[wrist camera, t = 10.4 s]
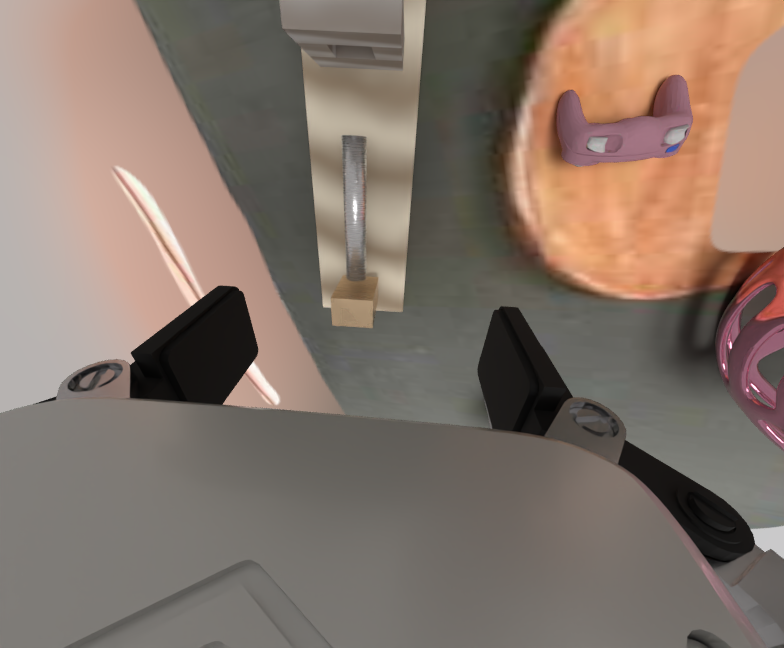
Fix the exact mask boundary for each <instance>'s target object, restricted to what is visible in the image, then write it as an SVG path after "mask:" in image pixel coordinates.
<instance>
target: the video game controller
mask: <svg viewBox="0 0 784 648" xmlns="http://www.w3.org/2000/svg"><path fill="white" fill-rule="evenodd" d="M692 123H693V116H692V111H691V107H690V101H689V94H688V88H687V83H686V81H685V80H684V78H683V77H682V76H680V75H672V76H670V77H668V78H667V79H666V80H665V81H664V83H663V84H662V85H661V87H660V89H659V91H658V92H657V95H656V98H655V102H654V109H653V117H651V116H639V117H634V118H627V119H623V120H620V121H619V122H618V123H607V124H599V123H587V121H586V119H585V117H584V115H583V112H582V108H581V104H580V100H579V97H578V95H577V94H576V93H575V91H573V90H568V91H566V92H565V93H564V94H563V96H562V97H561V99H560V101H559V104H558V109H557V132H558V137H559V140H560V143H561V147H562V154H561V156H562V158H563V160H565V161H566V162H568V163H570V164H573V165H575V166H577V167H581V166H590V165H594V164H597V163H599V162H627V161H636V160H643V159H648V158H653V157H655V158H665V157H670V156H673V155H675V154H676V153H677V152H678V151H679V149H680V148H681V146H682V144H683V143H684V141H685V140H686V138H687V136H688V134H689V132H690V129H691V126H692Z"/></svg>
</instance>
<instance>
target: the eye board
mask: <svg viewBox="0 0 784 648" xmlns="http://www.w3.org/2000/svg"><path fill="white" fill-rule="evenodd" d="M279 2H280V11H281V21H282V29H283V30H284V31H285V32H286V33H287V34H288V35H289V36H290V37H291V38H292V39H293V40H294V41H295V42H296V43H297V44H298V45H299V46H300V47H301V53H302V64H303V76H304V88H305V100H306V111H307V123H308V135H309V146H310V158H311V170H312V182H313V193H314V205H315V217H316V228H317V240H318V252H319V264H320V275H321V287H322V299H323V307H331V296H332V295H333V293H334V291H335V289H336V287H337V285H338V283H339V282H340V280H341V278H342V276H343V275H346V250H345V222H344V195H343V167H342V139H341V135H354V136H365V137H367V216H366V276H367V277H379V278H378V303H377V308H376V310H377V311H393V312H403V299H404V285H405V272H406V259H407V246H408V233H409V219H410V206H411V193H412V180H413V167H414V153H415V140H416V127H417V114H418V101H419V87H420V74H421V61H422V48H423V34H424V21H425V8H426V0H279Z"/></svg>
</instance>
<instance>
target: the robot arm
mask: <svg viewBox="0 0 784 648" xmlns="http://www.w3.org/2000/svg"><path fill="white" fill-rule="evenodd" d="M131 354H132V356H133V358H134V360H135V362H134V363H132V364H131V365H130V364H129V363H128V362H126V361H125V360H118V359H115V360H105V361H101V362H97V363H94V364H91V365H88V366H86V367H84V368H82V369H79V370H77V371H76V372H74V373H73V374H71V375H70V376H68V377H67V378H66V379H65V380H64V381H63V382H62V384H61V385H60V387H59V390H58V394H57V396H56V397H54V398H51V399H48V400H45V401H42V402H39V403H36V404H33V405H28V406H24V407H21V408H16V409H13V410H10V411H6V412H3V413H0V648H784V559H783V558H782V557H780V556H779V555H778V554H776V553H775V552H774V551H773V550H771V549H770V550H768V551H766V552H764V551H763V550H761V549H760V548H759V547H758V546H757V545H755V541H754V537H753V534H752V532H751V530H750V528H749V526H748V525H747V523H746V522H745V520H744V519H743V518H742V517H741V516H740V515H739V513H738V512H737V511H736V510H735V509H734V508H732V507H731V506H730V505H729V504H728V503H727V502H726V501H724V500H723V499H722V498H720V497H719V496H717V495H716V494H714V493H713V492H711V491H710V490H708V489H706V488H705V487H703V486H701V485H700V484H698V483H696V482H695V481H693V480H691V479H690V478H688V477H686V476H685V475H683V474H681V473H679V472H678V471H676V470H674V469H673V468H671V467H669V466H668V465H666V464H664V463H663V462H661V461H659V460H658V459H656V458H654V457H653V456H651V455H649V454H648V453H646V452H644V451H643V450H641V449H639V448H638V447H636V446H634V445H633V444H631V443H629V442H628V441H626V440H625V438H626V428H625V426H624V424H623V422H622V421H621V420H620V418H619V417H618V416H617V415H616V414H615V413H614V412H612V411H611V410H610V409H609V408H607V407H605V406H604V405H602V404H600V403H598V402H595V401H593V400H590V399H586V398H578V397H574V398H573V396H572V395H571V393H570V391H569V390H568V388H567V386H566V385H565V383H564V382H563V380H562V378H561V377H560V375H559V373H558V372H557V370H556V368H555V367H554V365H553V363H552V362H551V360H550V358H549V357H548V355H547V354H546V352H545V350H544V349H543V347H542V346H541V345H540V343H539V342H538V340H537V338H536V337H535V335H534V333H533V332H532V330H531V328H530V327H529V325H528V323H527V322H526V320H525V318H524V317H523V315H522V313H521V312H520V310H519V309H518V308H516V307H503V306H501V307H500V308H499V310H494V312H493V315H492V319H491V322H490V326H489V329H488V333H487V336H486V340H485V343H484V347H483V350H482V354H481V357H480V361H479V364H478V377H479V380H480V384H481V388H482V392H483V395H484V399H485V403H486V407H487V410H488V414H489V418H490V422H491V425H492V429H489V428H481V427H469V426H459V425H450V424H439V423H428V422H417V421H407V420H396V419H385V418H374V417H363V416H351V415H340V414H328V413H317V412H304V411H293V410H281V409H270V408H257V407H244V406H232V405H222V404H223V403H224V401H225V400H226V398H227V397H228V396H229V394H230V393H231V391H232V390H233V389H234V387H235V386H236V385H237V383H238V382H239V380H240V379H241V378H242V376H243V375H244V373H245V372H246V371H247V369H248V368H249V366H250V365H251V364H252V362H253V361H254V359H255V358H256V356H257V354H258V346H257V342H256V338H255V334H254V331H253V327H252V323H251V320H250V316H249V312H248V308H247V305H246V301H245V297H244V294H243V292H242V291H239V289H238V288H237V287H233V286H218V287H216V288H215V289H213V290H212V291H211V292H209V293H208V294H207V295H206V296H204V297H203V298H202V299H200V300H199V301H198V302H196V303H195V304H194V305H192V306H191V307H190V308H188V309H187V310H186V311H185V312H183V313H182V314H181V315H179V316H178V317H177V318H175V319H174V320H173V321H171V322H170V323H169V324H168V325H166V326H165V327H164V328H162V329H161V330H160V331H158V332H157V333H156V334H154V335H153V336H152V337H150V338H149V339H148V340H146V341H145V342H144V343H143V344H141V345H140V346H139V347H137V348H136V349H135V350H133V351H132V352H131Z"/></svg>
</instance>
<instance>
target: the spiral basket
mask: <svg viewBox="0 0 784 648" xmlns="http://www.w3.org/2000/svg"><path fill="white" fill-rule="evenodd" d="M773 284H774V285H775V286H776V289H777V292H776V296H775V298H774V299H773V300H772V302H771V303H770V304H769V305H768V306H766V307H765V308H764V309H763V310H762V311H760V312H759V313H758V314H757V315H756V316H754V317H753V318H752V319H751V320H750V321H749V322H748V323H747V324H746V325H745V326H744V328H743V329H742V330H741V320H742V314H743V310H744V307H745V306H746V305H747V304H748V303H749V301H750V300H752V299H753V298H754V297H755V296H756V295H757V294H758V293H759V292H761V291H762V290H763V289H765V288H767V287H768V286H770V285H773ZM782 348H784V247H783V248H782V249H781V250H779V251H778V252H776V253H775V254H774V255H772V256H771V257H770V258H768V259H767V260H766V261H765V262H764V263H762V264H761V265H760V266H759V267H758V268H757V269H756V270H755V271H754V272H753V273H752V274H751V275H750V276H749V277H748V278H747V279H746V281H745V282H744V283H743V284H742V286H741V287H740V288H739V290H738V291H737V293H736V295H735V296H734V298H733V300H732V301H731V302H730V304H729V305H728V307H727V308H726V310H725V312H724V314H723V316H722V318H721V320H720V323H719V326H718V329H717V333H716V340H715V353H716V360H717V364H718V368H719V372H720V375H721V378H722V380H723V383H724V385H725V387H726V389H727V391H728V393H729V394H730V396H731V397H732V399H733V400H734V401H735V402H736V404H737V405H738V406H739V407H740V409H741V410H742V411H743V412H744V414H745V415H746V416H747V417H748V418H749V419H750V421H751V422H752V423H753V424H754V425H755V426H756V427H757V428H758V429H759V430H760V431H761V432H762V433H763V434H764V435H765V436H766V437H767V438H768V439H769V440H770V441H771V442H773V443H774V444H775V445H776V446H777V447H779V448H780V449H781V450H782V451H784V376H783V377H782V379H781V381H780V383H779V385H778V388H777V389H776V388H775V387H774V386H773V385H772V384H770V383H769V382H768V381H767V380H766V379H765V377H764V376H763V375H762V374H761V372H760V370H759V367H758V364H759V362H760V360H762V359H763V358H764V357H766V356H767V355H769V354H771V353H773V352H775V351H777V350H779V349H782ZM750 387H751V388H752V389H753V390H754V391H755V392H756V393H757V394H758V395H759V396H760V397H761V398H762V399H763V400H764V401H765V402H767V403H768V404H769V405H770V406H771V407H773V408H771V407H769V406H767V405H765V404H763V403H762V402H760V401H759V400H758V399H757V398H756V397H755V396H754V395H753V393H752V391H751V389H750Z"/></svg>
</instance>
